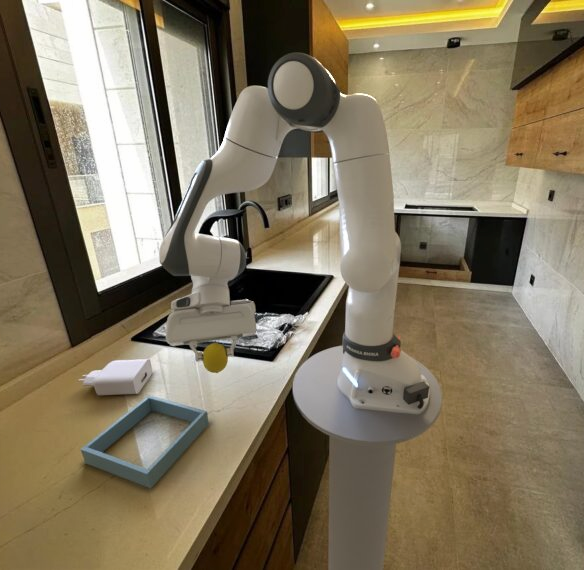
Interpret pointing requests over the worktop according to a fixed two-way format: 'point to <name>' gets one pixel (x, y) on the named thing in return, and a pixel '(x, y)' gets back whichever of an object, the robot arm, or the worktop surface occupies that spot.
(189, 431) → the blue bin
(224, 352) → the lemon
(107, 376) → the charger
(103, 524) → the worktop surface
